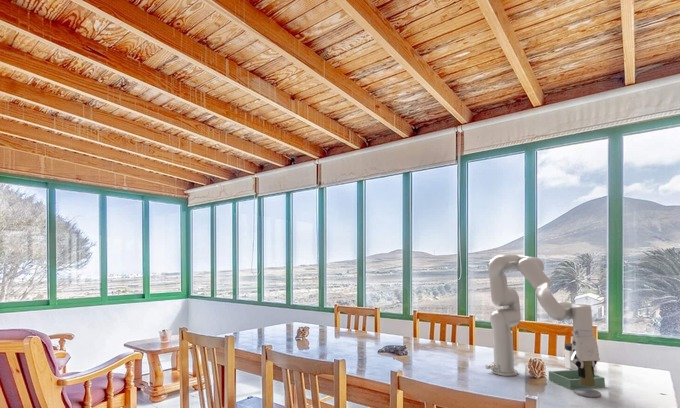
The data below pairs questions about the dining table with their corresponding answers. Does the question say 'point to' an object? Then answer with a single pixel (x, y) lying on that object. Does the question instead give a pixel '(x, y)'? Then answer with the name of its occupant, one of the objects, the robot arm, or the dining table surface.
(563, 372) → the green tray
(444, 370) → the dining table surface
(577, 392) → the mat
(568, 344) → the jar
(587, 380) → the cork
